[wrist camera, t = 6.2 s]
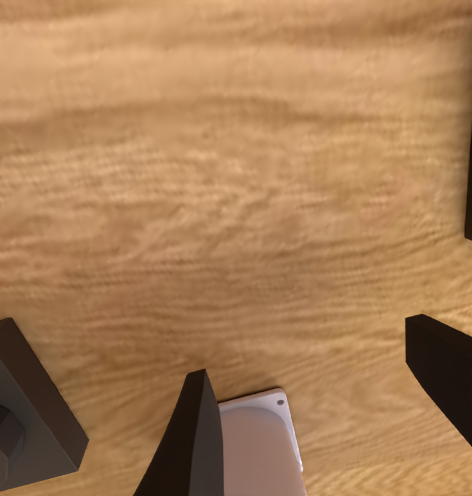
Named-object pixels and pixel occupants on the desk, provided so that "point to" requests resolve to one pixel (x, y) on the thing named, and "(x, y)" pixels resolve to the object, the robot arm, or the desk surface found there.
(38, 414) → the button block
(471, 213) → the panel
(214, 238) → the desk surface
